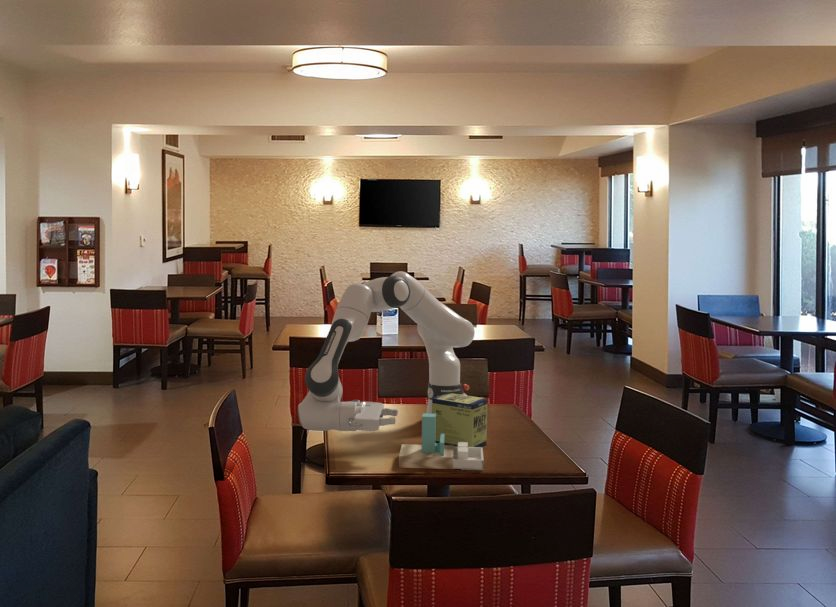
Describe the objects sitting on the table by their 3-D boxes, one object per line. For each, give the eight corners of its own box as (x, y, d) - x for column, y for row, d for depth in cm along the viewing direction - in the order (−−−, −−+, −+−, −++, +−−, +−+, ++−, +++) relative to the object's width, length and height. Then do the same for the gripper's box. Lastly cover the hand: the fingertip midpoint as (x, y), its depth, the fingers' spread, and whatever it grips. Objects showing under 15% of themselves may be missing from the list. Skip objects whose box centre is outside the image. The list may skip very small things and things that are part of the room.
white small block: (458, 451, 249) (468, 451, 249) (458, 447, 254) (468, 447, 254) (457, 466, 250) (467, 466, 250) (457, 461, 254) (467, 462, 254)
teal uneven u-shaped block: (421, 455, 250) (421, 418, 249) (422, 445, 260) (423, 411, 259) (443, 455, 250) (444, 419, 249) (444, 446, 260) (444, 411, 258)
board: (398, 467, 249) (398, 456, 249) (401, 455, 262) (401, 444, 262) (452, 469, 249) (453, 457, 248) (453, 456, 261) (453, 445, 261)
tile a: (457, 446, 255) (467, 446, 255) (457, 442, 259) (467, 442, 259) (457, 460, 256) (467, 460, 255) (457, 456, 260) (467, 456, 260)
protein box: (472, 452, 267) (473, 404, 265) (430, 444, 275) (431, 397, 273) (487, 444, 275) (488, 398, 274) (446, 437, 284) (447, 392, 282)
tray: (452, 469, 248) (453, 459, 248) (453, 455, 262) (453, 446, 262) (483, 470, 248) (483, 460, 247) (482, 456, 262) (482, 447, 261)
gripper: (346, 415, 245) (393, 415, 244) (354, 398, 265) (398, 398, 264) (346, 436, 245) (394, 436, 245) (355, 417, 266) (398, 418, 265)
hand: (396, 416), depth 255 cm, fingers open, 8 cm apart
